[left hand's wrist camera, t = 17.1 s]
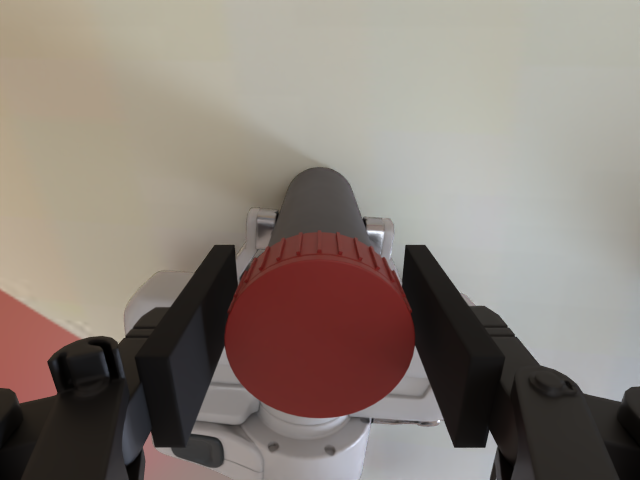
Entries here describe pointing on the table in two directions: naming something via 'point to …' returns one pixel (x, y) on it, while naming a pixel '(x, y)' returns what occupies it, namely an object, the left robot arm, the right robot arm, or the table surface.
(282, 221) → the jar
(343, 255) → the lid
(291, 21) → the table surface
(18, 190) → the table surface
